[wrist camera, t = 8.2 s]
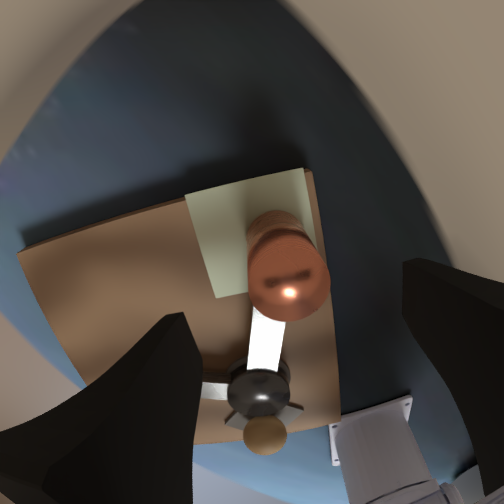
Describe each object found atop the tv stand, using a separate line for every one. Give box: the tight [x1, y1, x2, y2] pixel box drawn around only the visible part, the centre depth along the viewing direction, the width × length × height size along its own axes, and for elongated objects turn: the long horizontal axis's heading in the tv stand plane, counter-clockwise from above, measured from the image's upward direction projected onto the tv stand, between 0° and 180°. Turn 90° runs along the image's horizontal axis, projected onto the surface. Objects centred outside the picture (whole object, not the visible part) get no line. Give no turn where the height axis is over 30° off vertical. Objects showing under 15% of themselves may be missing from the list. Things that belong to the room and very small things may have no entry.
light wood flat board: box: [16, 168, 341, 455], centre depth 18 cm, size 20×19×5 cm
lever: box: [201, 210, 331, 417], centre depth 15 cm, size 14×7×5 cm, turn 175°
